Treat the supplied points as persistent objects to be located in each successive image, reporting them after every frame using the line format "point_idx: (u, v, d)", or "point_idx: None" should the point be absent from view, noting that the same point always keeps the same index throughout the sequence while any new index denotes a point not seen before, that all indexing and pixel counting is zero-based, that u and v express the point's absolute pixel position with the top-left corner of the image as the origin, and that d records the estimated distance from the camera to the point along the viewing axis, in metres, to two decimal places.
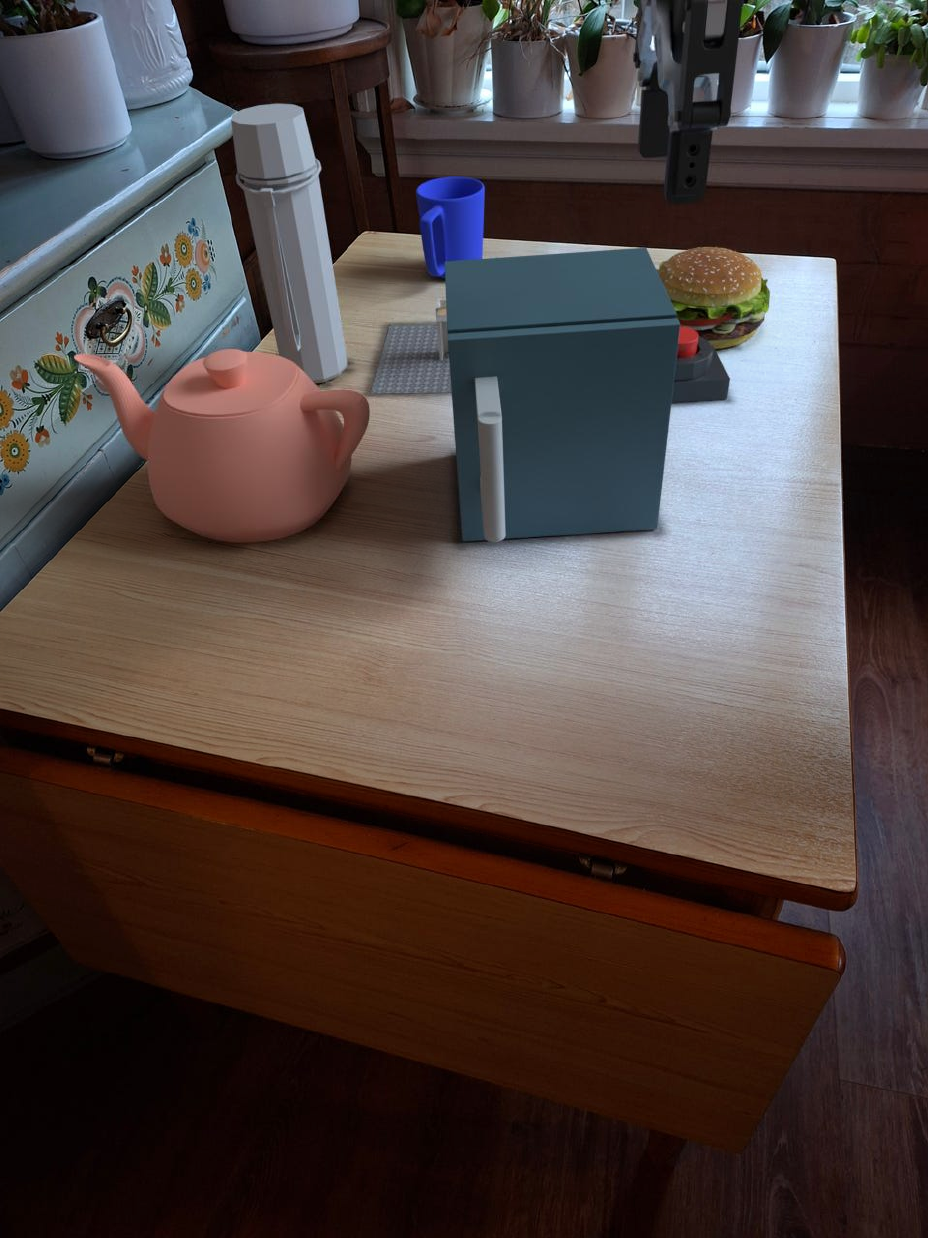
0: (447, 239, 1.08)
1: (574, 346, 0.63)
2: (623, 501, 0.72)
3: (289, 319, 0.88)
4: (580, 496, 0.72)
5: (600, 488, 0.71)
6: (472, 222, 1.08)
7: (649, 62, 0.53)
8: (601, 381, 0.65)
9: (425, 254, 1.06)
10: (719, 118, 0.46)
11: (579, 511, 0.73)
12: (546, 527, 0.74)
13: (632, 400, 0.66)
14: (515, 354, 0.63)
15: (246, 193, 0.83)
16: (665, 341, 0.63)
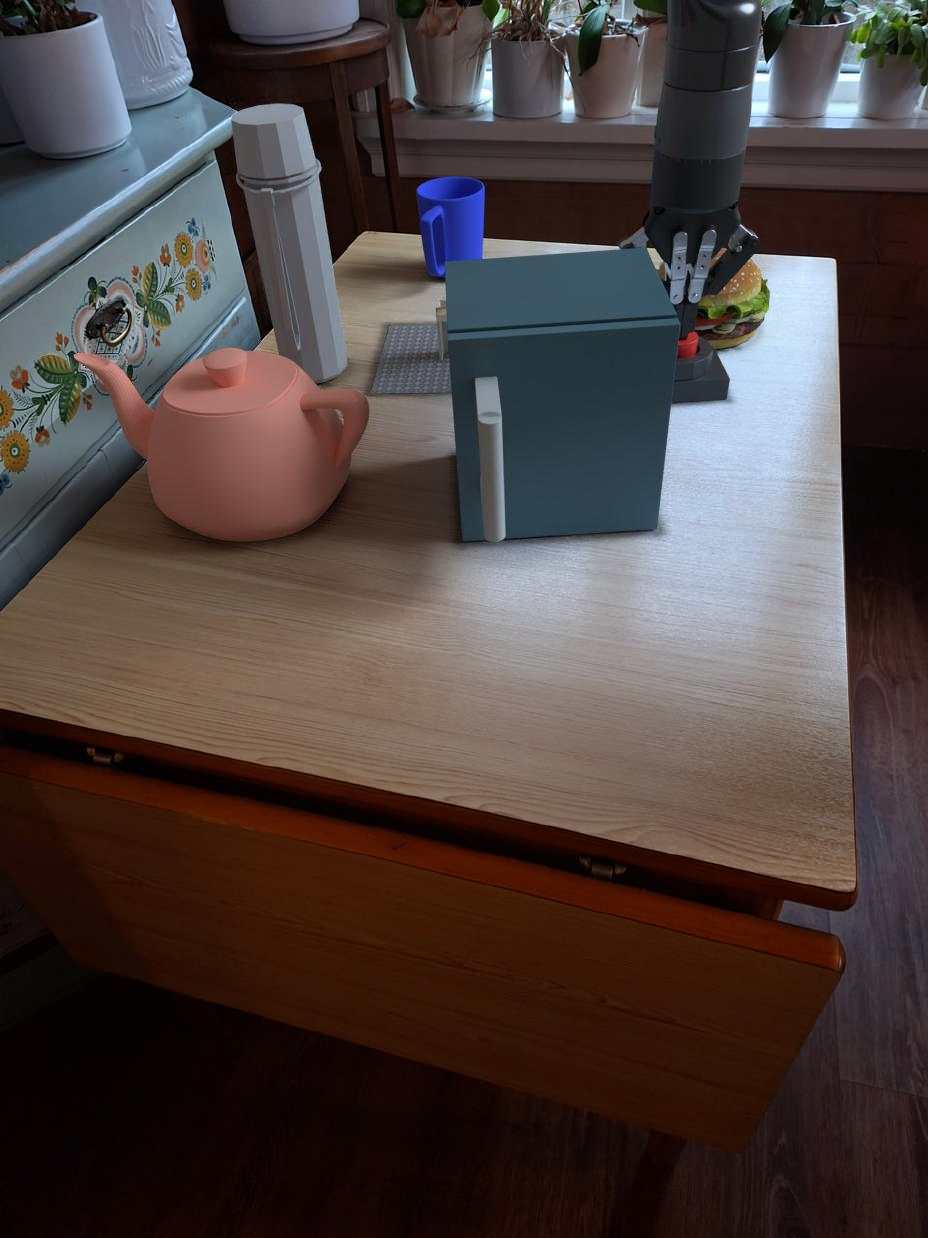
0: (447, 239, 1.08)
1: (574, 346, 0.63)
2: (623, 501, 0.72)
3: (289, 319, 0.88)
4: (580, 496, 0.72)
5: (600, 488, 0.71)
6: (472, 221, 1.08)
7: (686, 268, 0.84)
8: (601, 381, 0.65)
9: (425, 254, 1.06)
10: None
11: (579, 511, 0.73)
12: (546, 527, 0.74)
13: (632, 400, 0.66)
14: (515, 354, 0.63)
15: (246, 193, 0.83)
16: (665, 341, 0.63)
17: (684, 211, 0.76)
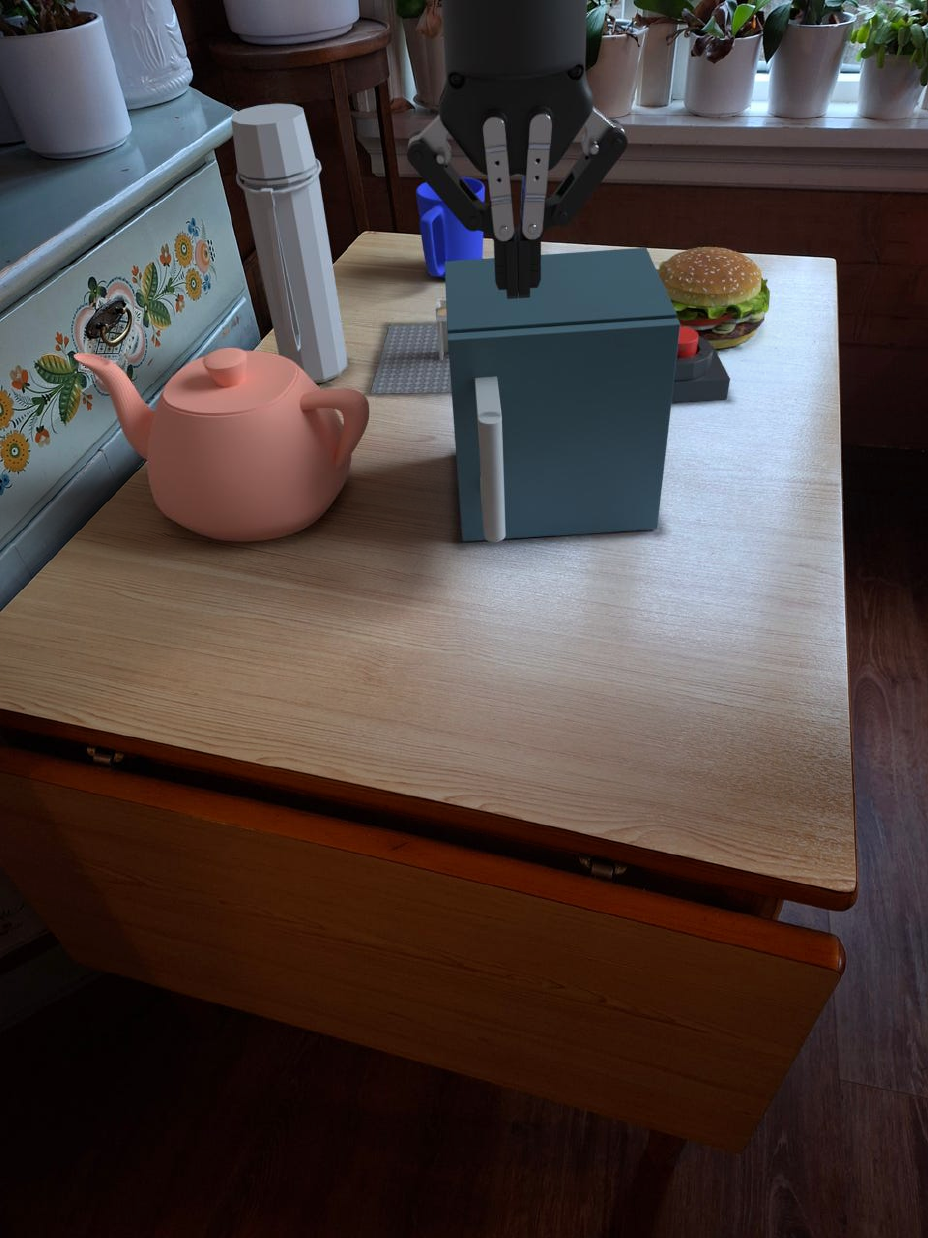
0: (447, 239, 1.08)
1: (574, 346, 0.63)
2: (623, 501, 0.72)
3: (289, 319, 0.88)
4: (580, 496, 0.72)
5: (600, 488, 0.71)
6: None
7: None
8: (601, 381, 0.65)
9: (425, 254, 1.06)
10: None
11: (579, 511, 0.73)
12: (546, 527, 0.74)
13: (632, 400, 0.66)
14: (515, 354, 0.63)
15: (246, 193, 0.83)
16: (665, 341, 0.63)
17: (487, 77, 0.46)
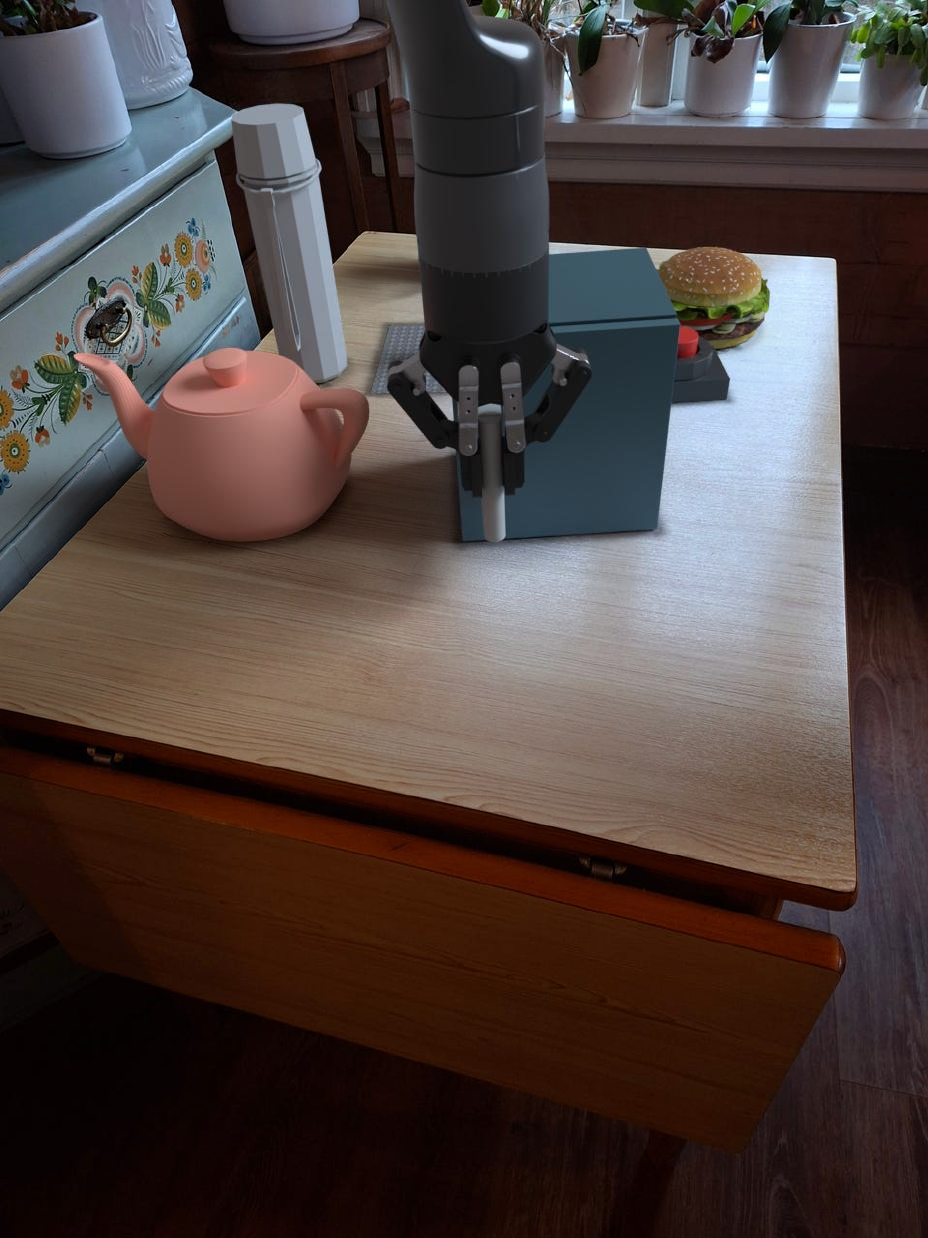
0: None
1: (574, 346, 0.63)
2: (623, 501, 0.72)
3: (289, 319, 0.88)
4: (580, 496, 0.72)
5: (600, 488, 0.71)
6: None
7: None
8: (601, 381, 0.65)
9: None
10: None
11: (579, 511, 0.73)
12: (546, 527, 0.74)
13: (632, 400, 0.66)
14: None
15: (246, 193, 0.83)
16: (665, 341, 0.63)
17: (462, 342, 0.52)
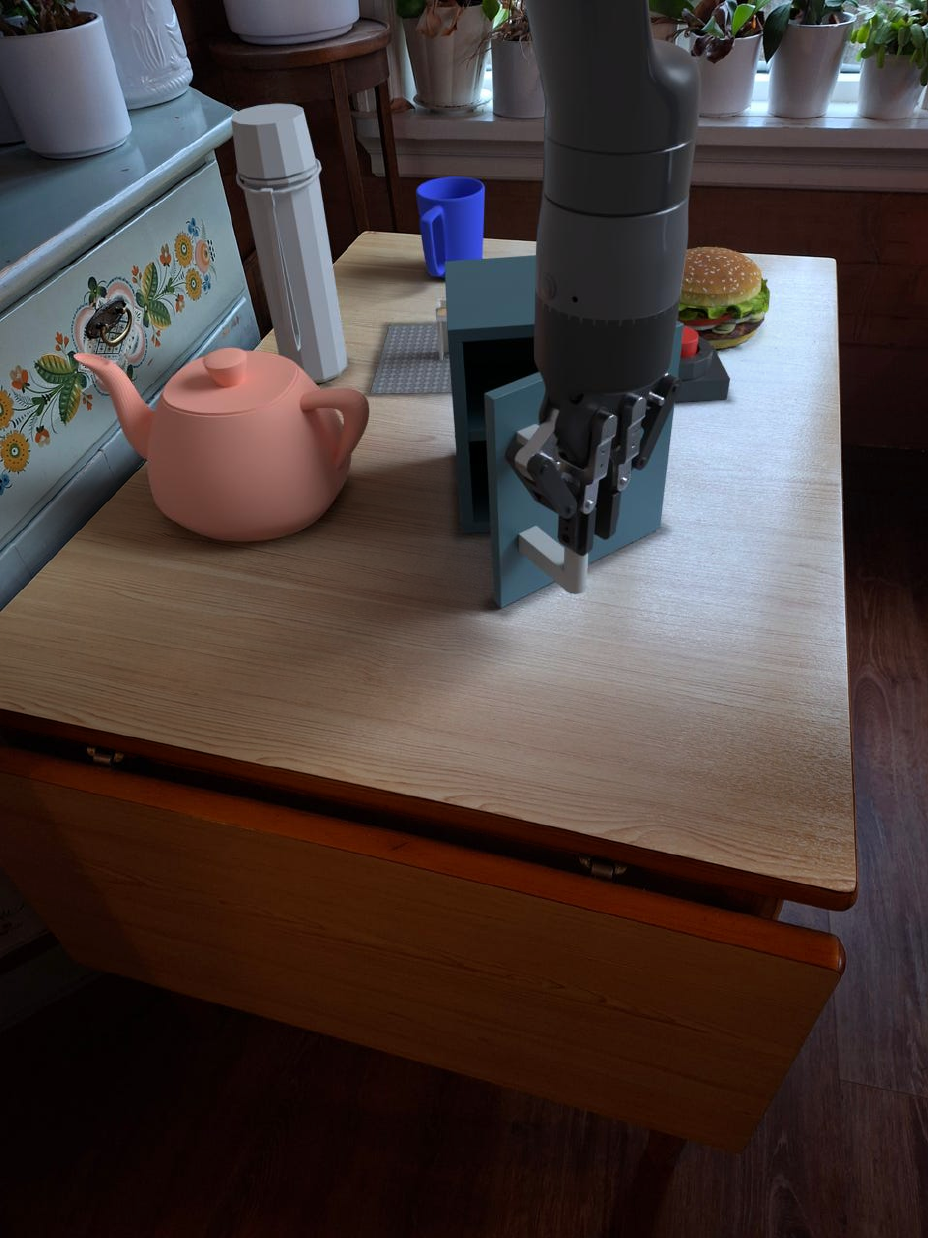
0: (447, 239, 1.08)
1: None
2: (635, 512, 0.71)
3: (289, 319, 0.88)
4: None
5: None
6: (472, 221, 1.08)
7: None
8: None
9: (425, 254, 1.06)
10: (558, 511, 0.53)
11: None
12: None
13: None
14: None
15: (246, 193, 0.83)
16: None
17: (631, 391, 0.47)
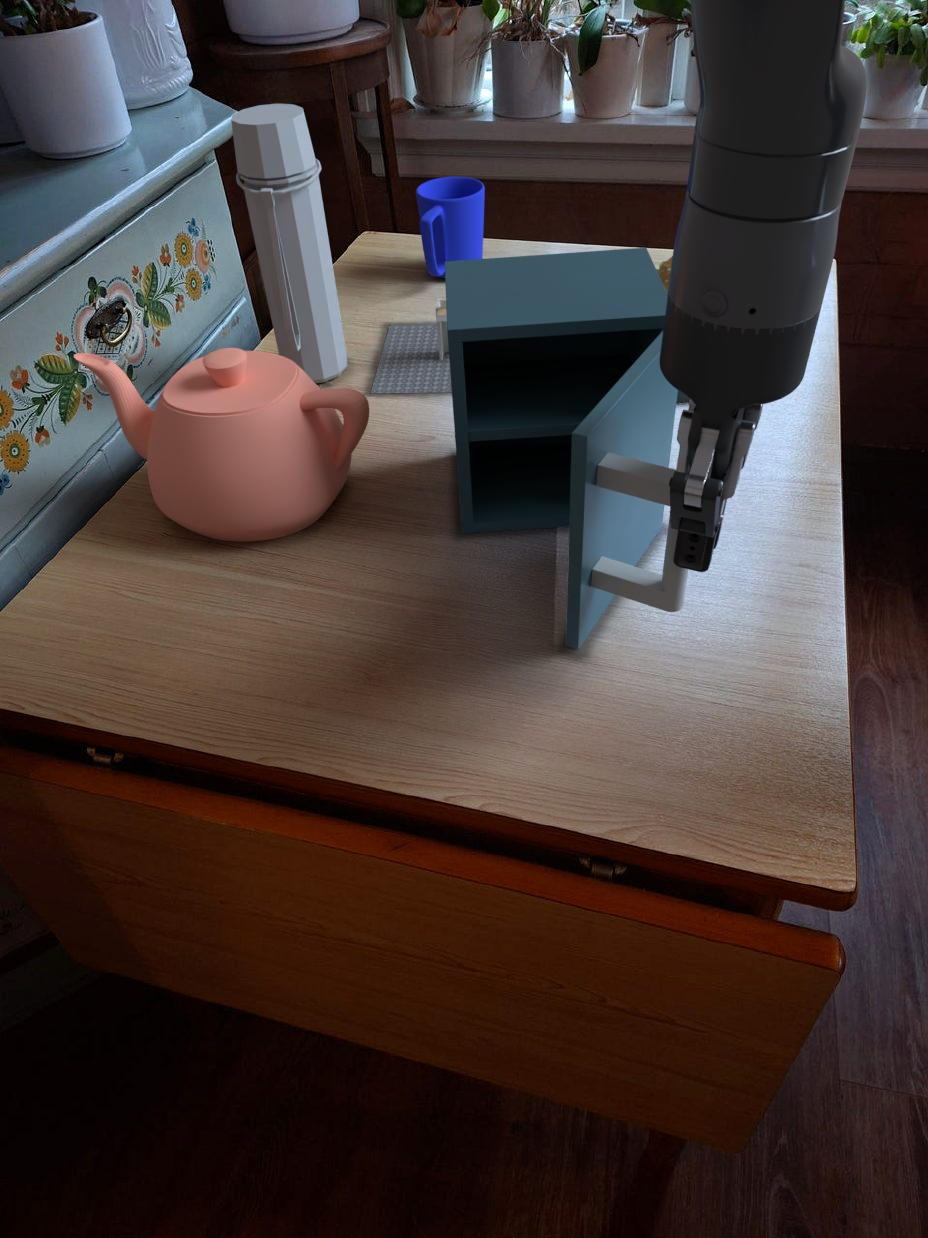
0: (447, 239, 1.08)
1: (644, 385, 0.59)
2: (651, 517, 0.70)
3: (289, 319, 0.88)
4: (634, 534, 0.68)
5: (643, 516, 0.68)
6: (472, 221, 1.08)
7: None
8: (651, 409, 0.62)
9: (425, 254, 1.06)
10: (705, 532, 0.51)
11: (632, 550, 0.69)
12: None
13: (662, 414, 0.64)
14: (618, 419, 0.56)
15: (246, 193, 0.83)
16: None
17: None
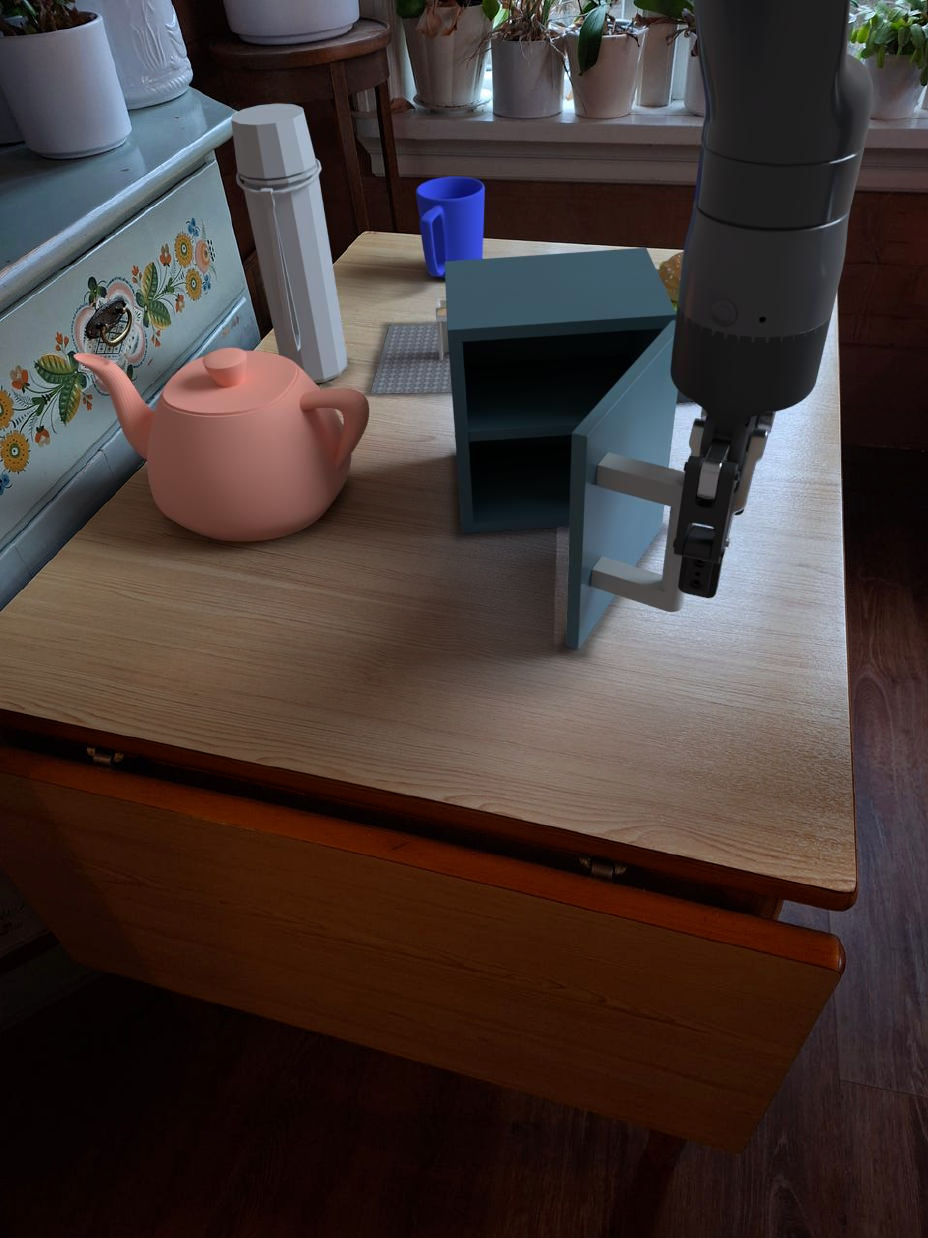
0: (447, 239, 1.08)
1: (644, 385, 0.59)
2: (651, 517, 0.70)
3: (289, 319, 0.88)
4: (634, 534, 0.68)
5: (643, 516, 0.68)
6: (472, 221, 1.08)
7: None
8: (651, 409, 0.62)
9: (425, 254, 1.06)
10: (710, 558, 0.48)
11: (632, 550, 0.69)
12: None
13: (662, 414, 0.64)
14: (618, 419, 0.56)
15: (246, 193, 0.83)
16: None
17: None
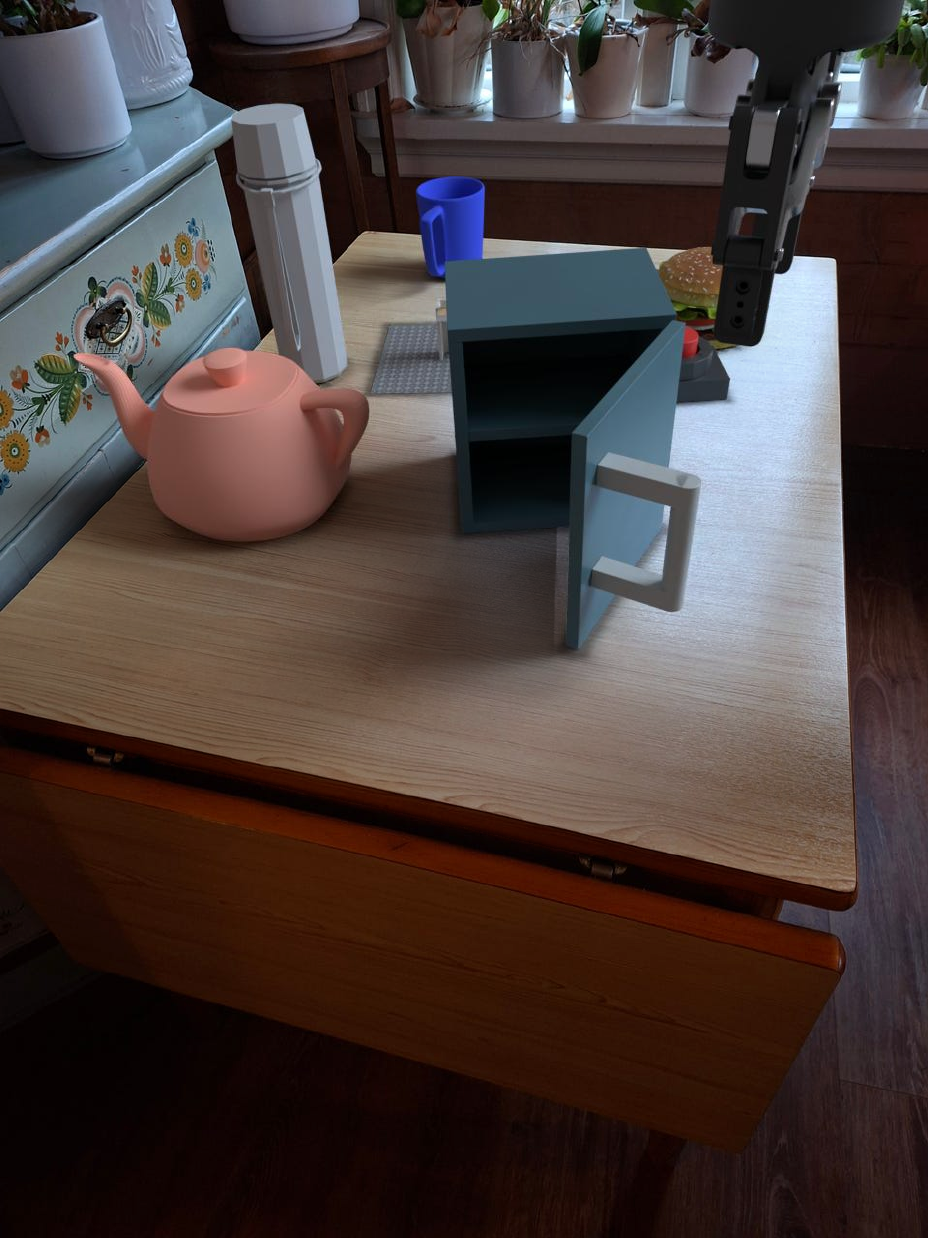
0: (447, 239, 1.08)
1: (644, 385, 0.59)
2: (651, 517, 0.70)
3: (289, 319, 0.88)
4: (634, 534, 0.68)
5: (643, 516, 0.68)
6: (472, 222, 1.08)
7: None
8: (651, 409, 0.62)
9: (425, 254, 1.06)
10: (760, 260, 0.37)
11: (632, 550, 0.69)
12: None
13: (662, 414, 0.64)
14: (618, 419, 0.56)
15: (246, 193, 0.83)
16: (679, 344, 0.62)
17: (882, 39, 0.35)
